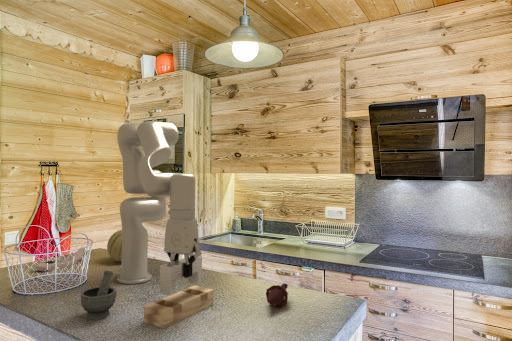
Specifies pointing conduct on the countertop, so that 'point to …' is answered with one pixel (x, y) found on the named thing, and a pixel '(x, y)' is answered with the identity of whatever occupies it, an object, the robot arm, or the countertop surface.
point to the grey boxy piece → (178, 274)
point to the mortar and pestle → (99, 298)
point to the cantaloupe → (115, 246)
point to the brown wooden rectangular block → (178, 306)
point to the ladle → (60, 262)
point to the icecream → (277, 295)
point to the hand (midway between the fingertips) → (182, 275)
